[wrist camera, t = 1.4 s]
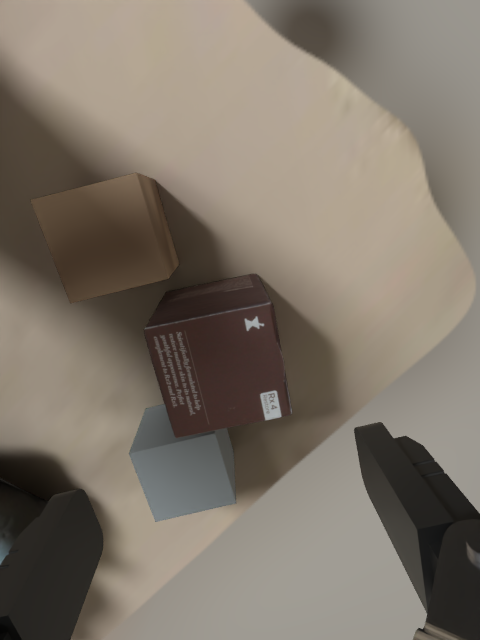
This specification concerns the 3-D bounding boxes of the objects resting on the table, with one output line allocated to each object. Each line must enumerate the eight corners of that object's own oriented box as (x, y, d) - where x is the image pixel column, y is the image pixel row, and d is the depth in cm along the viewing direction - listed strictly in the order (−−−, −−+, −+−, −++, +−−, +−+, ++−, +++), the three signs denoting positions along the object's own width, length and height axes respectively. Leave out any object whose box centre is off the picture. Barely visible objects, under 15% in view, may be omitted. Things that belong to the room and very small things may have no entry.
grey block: (145, 407, 26) (128, 453, 21) (216, 391, 26) (214, 433, 21) (167, 466, 27) (155, 521, 23) (233, 450, 27) (236, 503, 23)
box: (164, 289, 24) (139, 325, 17) (258, 271, 24) (273, 299, 17) (186, 376, 25) (172, 441, 18) (274, 359, 25) (294, 418, 18)
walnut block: (72, 201, 22) (30, 199, 17) (155, 179, 22) (136, 172, 17) (101, 283, 23) (70, 303, 19) (179, 264, 23) (168, 278, 18)
